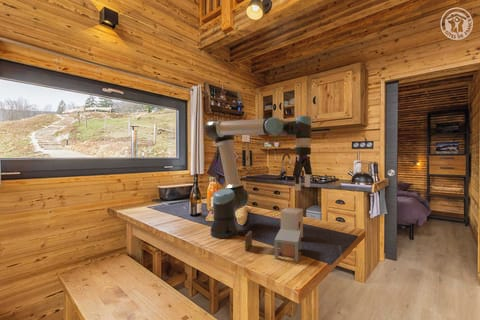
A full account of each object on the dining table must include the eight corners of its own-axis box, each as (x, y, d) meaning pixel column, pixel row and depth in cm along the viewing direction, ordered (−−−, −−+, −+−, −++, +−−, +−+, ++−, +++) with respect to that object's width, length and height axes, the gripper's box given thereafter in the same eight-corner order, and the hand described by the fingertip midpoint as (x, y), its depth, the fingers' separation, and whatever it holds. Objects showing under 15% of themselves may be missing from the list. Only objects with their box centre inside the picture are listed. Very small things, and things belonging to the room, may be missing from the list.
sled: (245, 253, 97) (244, 236, 97) (250, 247, 103) (249, 230, 103) (300, 261, 89) (299, 242, 89) (301, 254, 95) (301, 236, 95)
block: (281, 255, 92) (281, 240, 92) (283, 250, 97) (283, 236, 97) (293, 256, 91) (293, 242, 90) (295, 251, 95) (295, 237, 95)
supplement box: (298, 244, 107) (297, 212, 106) (280, 240, 112) (279, 210, 111) (303, 237, 114) (303, 208, 114) (286, 234, 119) (286, 206, 119)
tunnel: (274, 262, 89) (274, 239, 89) (280, 248, 102) (280, 228, 101) (297, 265, 86) (297, 242, 86) (300, 251, 98) (300, 230, 98)
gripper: (301, 146, 101) (300, 193, 102) (318, 147, 121) (317, 186, 122) (286, 146, 106) (285, 191, 106) (304, 147, 126) (304, 184, 127)
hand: (302, 188), depth 114 cm, fingers open, 13 cm apart
